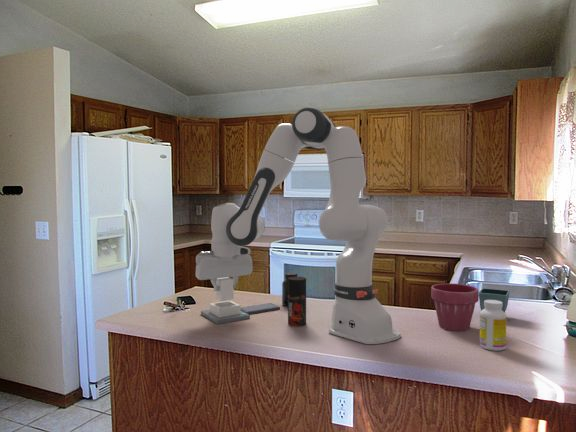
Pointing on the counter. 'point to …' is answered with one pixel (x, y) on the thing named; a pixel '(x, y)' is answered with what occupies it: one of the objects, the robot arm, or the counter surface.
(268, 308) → the phone
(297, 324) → the deodorant
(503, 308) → the flower pot
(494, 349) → the supplement bottle
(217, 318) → the dock
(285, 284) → the supplement bottle
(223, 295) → the block
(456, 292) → the plant pot
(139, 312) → the counter surface
